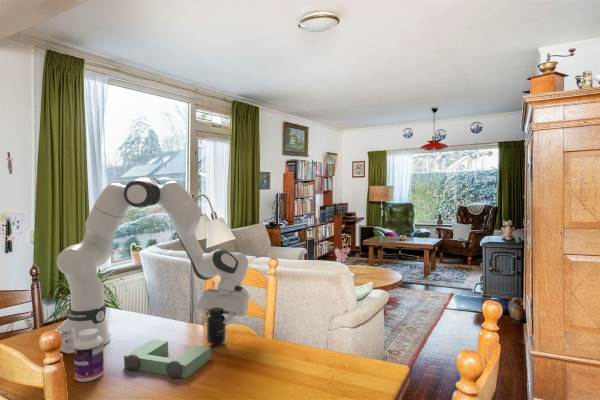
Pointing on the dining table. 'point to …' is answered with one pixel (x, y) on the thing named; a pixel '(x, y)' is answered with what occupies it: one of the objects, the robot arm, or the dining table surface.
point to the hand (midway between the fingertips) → (215, 323)
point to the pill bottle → (88, 356)
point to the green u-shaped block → (166, 359)
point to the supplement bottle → (216, 326)
